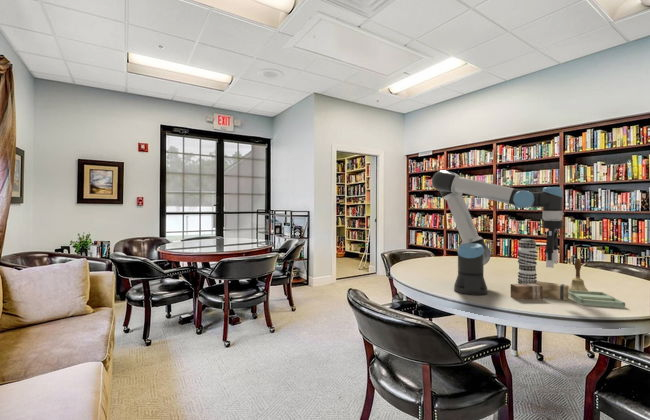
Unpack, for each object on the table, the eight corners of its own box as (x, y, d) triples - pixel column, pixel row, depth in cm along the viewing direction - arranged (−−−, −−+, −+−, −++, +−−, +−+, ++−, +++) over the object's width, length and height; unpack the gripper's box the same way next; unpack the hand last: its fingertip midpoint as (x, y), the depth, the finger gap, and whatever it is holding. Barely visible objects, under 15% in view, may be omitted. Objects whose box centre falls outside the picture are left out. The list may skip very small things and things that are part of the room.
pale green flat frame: (581, 304, 135) (581, 299, 135) (564, 294, 152) (564, 289, 152) (625, 308, 131) (625, 302, 131) (602, 296, 147) (602, 292, 147)
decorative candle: (536, 285, 169) (536, 238, 169) (538, 289, 161) (538, 240, 161) (516, 283, 174) (516, 238, 173) (517, 287, 165) (517, 239, 165)
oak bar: (535, 295, 150) (535, 282, 150) (537, 293, 154) (537, 280, 153) (567, 300, 142) (567, 286, 142) (568, 298, 145) (568, 284, 145)
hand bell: (592, 292, 155) (592, 260, 155) (573, 291, 156) (573, 259, 156) (582, 288, 163) (582, 257, 163) (564, 287, 165) (564, 257, 164)
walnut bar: (516, 299, 143) (516, 286, 143) (510, 296, 148) (510, 283, 148) (542, 299, 144) (542, 285, 144) (535, 296, 148) (535, 283, 148)
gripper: (559, 221, 136) (558, 270, 136) (565, 219, 155) (564, 262, 155) (538, 220, 141) (537, 268, 141) (546, 219, 160) (546, 261, 160)
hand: (551, 265), depth 148 cm, fingers open, 13 cm apart
